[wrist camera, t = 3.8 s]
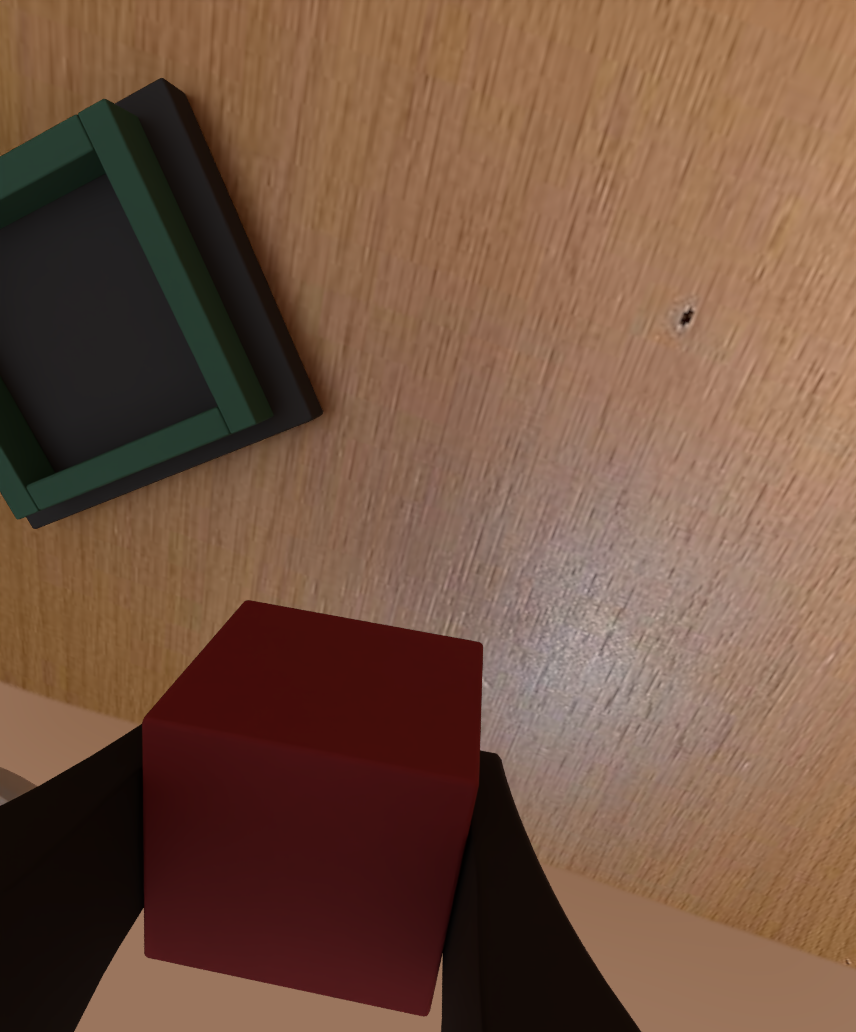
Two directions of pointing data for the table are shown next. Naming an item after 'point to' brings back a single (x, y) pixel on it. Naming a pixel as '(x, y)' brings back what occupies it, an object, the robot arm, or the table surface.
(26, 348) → the base pad
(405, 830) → the red cube
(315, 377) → the table surface
